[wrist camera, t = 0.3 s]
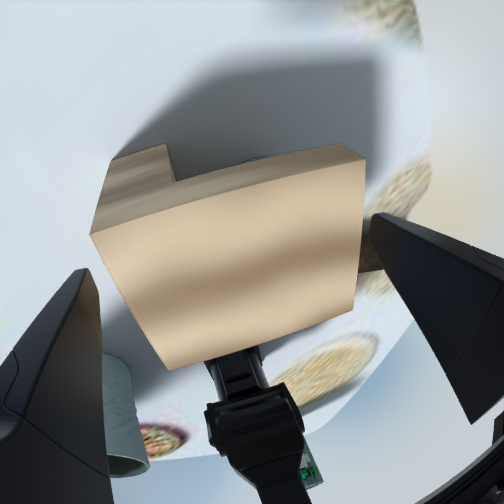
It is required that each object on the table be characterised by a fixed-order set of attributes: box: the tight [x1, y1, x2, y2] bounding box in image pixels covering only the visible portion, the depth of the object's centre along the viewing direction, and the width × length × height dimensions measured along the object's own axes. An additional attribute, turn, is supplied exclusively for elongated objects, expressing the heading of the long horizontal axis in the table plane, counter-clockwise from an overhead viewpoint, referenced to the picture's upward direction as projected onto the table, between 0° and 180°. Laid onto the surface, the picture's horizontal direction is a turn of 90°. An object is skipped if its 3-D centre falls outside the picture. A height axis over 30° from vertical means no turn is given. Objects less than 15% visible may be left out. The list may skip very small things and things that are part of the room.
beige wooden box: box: [90, 143, 366, 371], centre depth 20 cm, size 11×13×10 cm
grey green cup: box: [102, 352, 150, 478], centre depth 27 cm, size 10×10×12 cm
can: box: [299, 433, 324, 490], centre depth 48 cm, size 6×6×15 cm
